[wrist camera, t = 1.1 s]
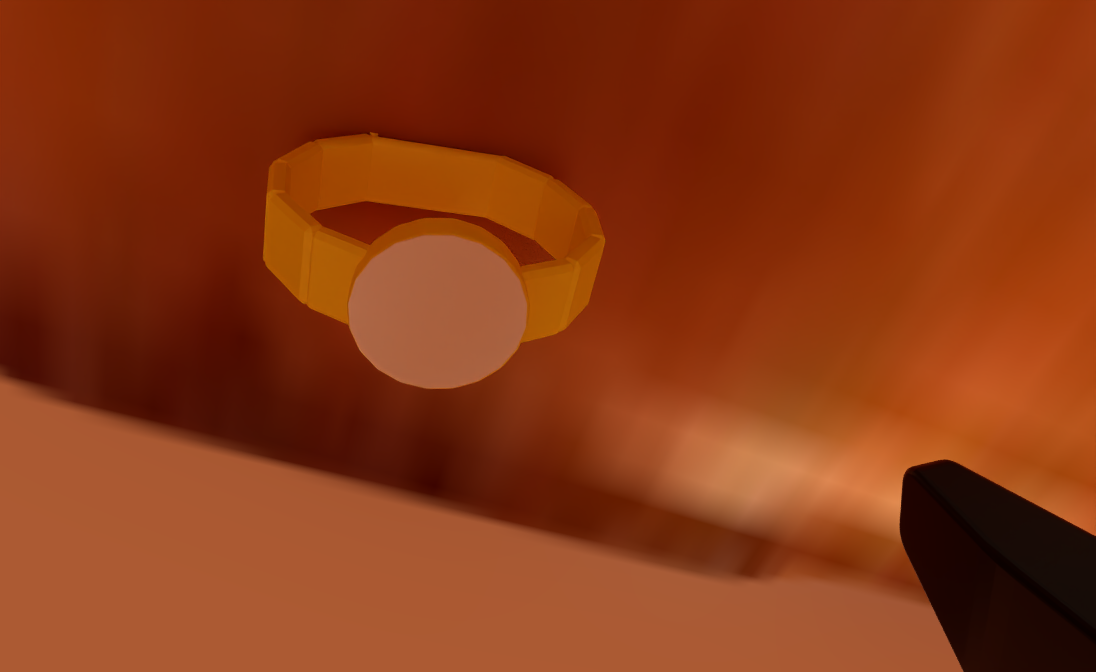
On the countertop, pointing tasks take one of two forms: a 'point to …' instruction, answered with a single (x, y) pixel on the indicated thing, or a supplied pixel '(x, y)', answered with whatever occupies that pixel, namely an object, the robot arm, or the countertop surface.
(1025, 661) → the robot arm
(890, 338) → the countertop surface
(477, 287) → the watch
